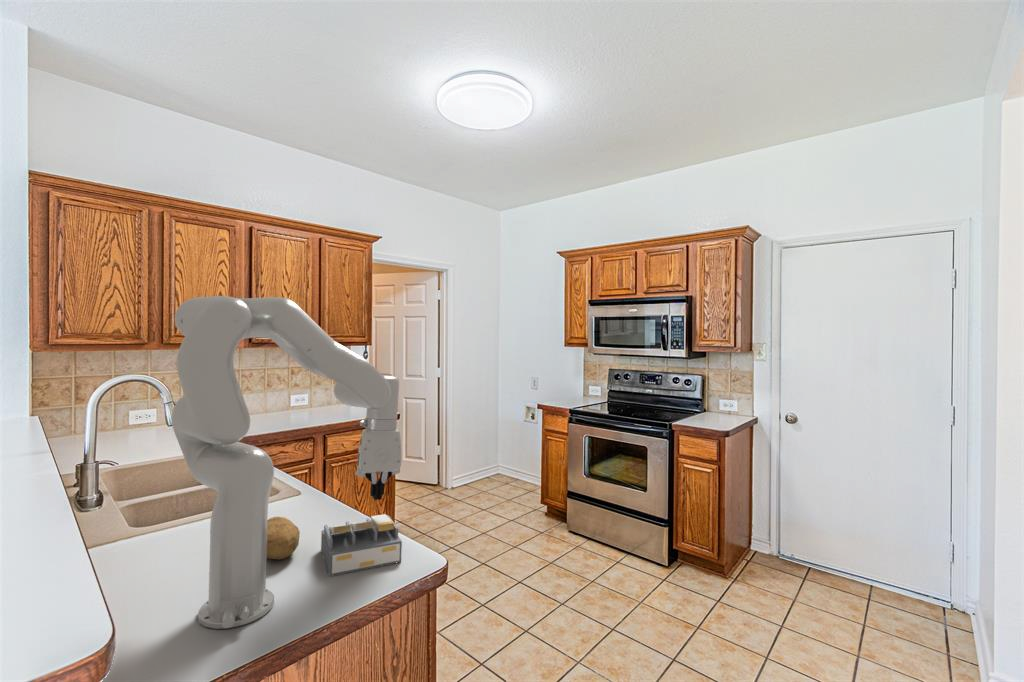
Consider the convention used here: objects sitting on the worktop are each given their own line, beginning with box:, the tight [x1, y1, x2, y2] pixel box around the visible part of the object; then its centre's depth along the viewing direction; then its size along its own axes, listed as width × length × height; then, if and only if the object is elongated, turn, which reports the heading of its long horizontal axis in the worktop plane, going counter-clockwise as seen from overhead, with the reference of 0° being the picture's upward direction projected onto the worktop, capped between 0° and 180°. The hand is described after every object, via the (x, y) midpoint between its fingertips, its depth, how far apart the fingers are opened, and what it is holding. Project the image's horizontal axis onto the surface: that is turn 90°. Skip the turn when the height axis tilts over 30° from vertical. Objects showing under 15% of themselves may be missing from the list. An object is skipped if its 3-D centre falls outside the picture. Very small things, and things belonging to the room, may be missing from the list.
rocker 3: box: [370, 513, 395, 532], centre depth 118 cm, size 8×4×1 cm, turn 29°
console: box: [320, 514, 403, 577], centre depth 115 cm, size 14×16×7 cm
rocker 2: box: [349, 520, 373, 530], centre depth 115 cm, size 8×4×1 cm, turn 29°
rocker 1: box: [328, 524, 351, 534], centre depth 113 cm, size 8×4×1 cm, turn 29°
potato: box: [266, 516, 301, 561], centre depth 114 cm, size 10×14×8 cm
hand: (376, 498), depth 120 cm, fingers closed
